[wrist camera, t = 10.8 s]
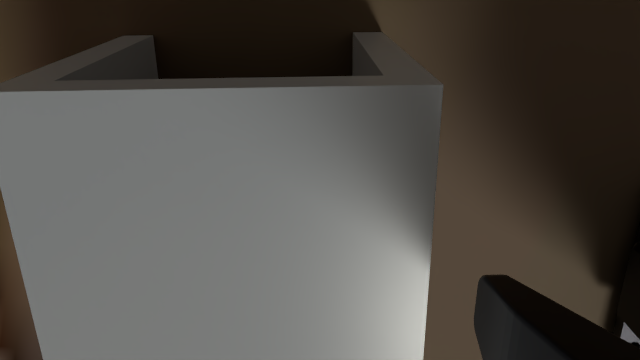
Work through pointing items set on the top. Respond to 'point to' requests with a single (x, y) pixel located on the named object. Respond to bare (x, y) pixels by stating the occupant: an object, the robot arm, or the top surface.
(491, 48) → the top surface
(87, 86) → the grey arch block
